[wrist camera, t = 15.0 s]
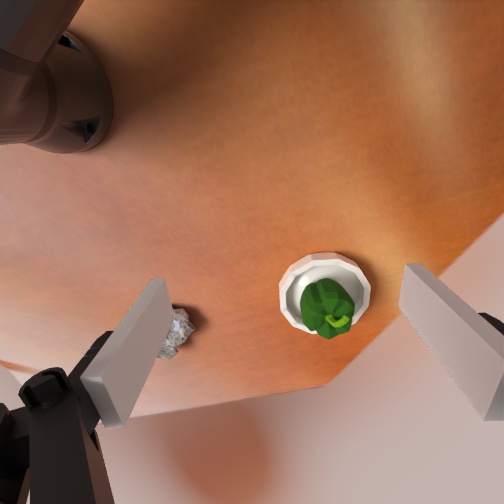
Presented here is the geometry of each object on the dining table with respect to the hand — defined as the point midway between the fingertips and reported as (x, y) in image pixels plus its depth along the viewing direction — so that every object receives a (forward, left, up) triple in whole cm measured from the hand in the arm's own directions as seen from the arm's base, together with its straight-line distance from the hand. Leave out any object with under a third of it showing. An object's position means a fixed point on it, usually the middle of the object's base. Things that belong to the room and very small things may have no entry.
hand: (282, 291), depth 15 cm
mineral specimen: (-21, -25, -29) cm, 44 cm away
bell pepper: (+8, -19, -28) cm, 35 cm away
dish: (+8, -19, -29) cm, 35 cm away
